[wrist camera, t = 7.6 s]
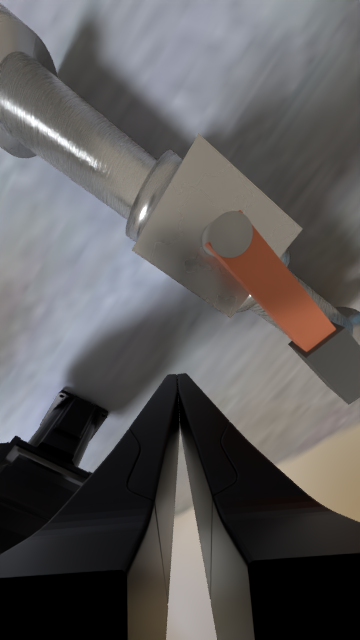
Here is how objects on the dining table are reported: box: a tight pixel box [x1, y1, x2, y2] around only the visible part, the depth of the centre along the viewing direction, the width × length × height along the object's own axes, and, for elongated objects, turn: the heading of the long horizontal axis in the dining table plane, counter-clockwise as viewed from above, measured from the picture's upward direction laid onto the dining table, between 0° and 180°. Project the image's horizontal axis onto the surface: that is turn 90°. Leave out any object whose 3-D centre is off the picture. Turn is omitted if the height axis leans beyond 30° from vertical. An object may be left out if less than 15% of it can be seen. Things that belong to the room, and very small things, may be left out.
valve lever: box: [202, 210, 360, 404], centre depth 12 cm, size 14×3×3 cm, turn 46°
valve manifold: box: [0, 4, 360, 345], centre depth 15 cm, size 7×32×7 cm, turn 55°
